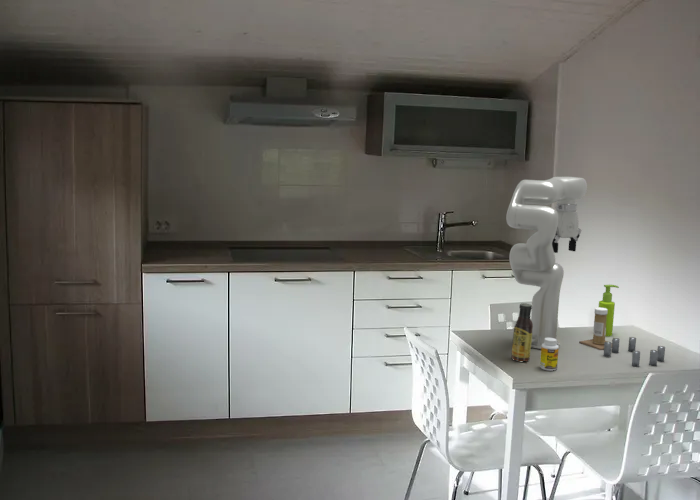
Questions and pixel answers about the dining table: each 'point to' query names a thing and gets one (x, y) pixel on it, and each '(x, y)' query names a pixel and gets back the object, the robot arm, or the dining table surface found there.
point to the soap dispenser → (608, 308)
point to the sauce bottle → (522, 334)
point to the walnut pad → (591, 344)
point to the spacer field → (634, 352)
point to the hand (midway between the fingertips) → (563, 251)
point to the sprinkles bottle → (599, 325)
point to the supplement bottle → (549, 354)
